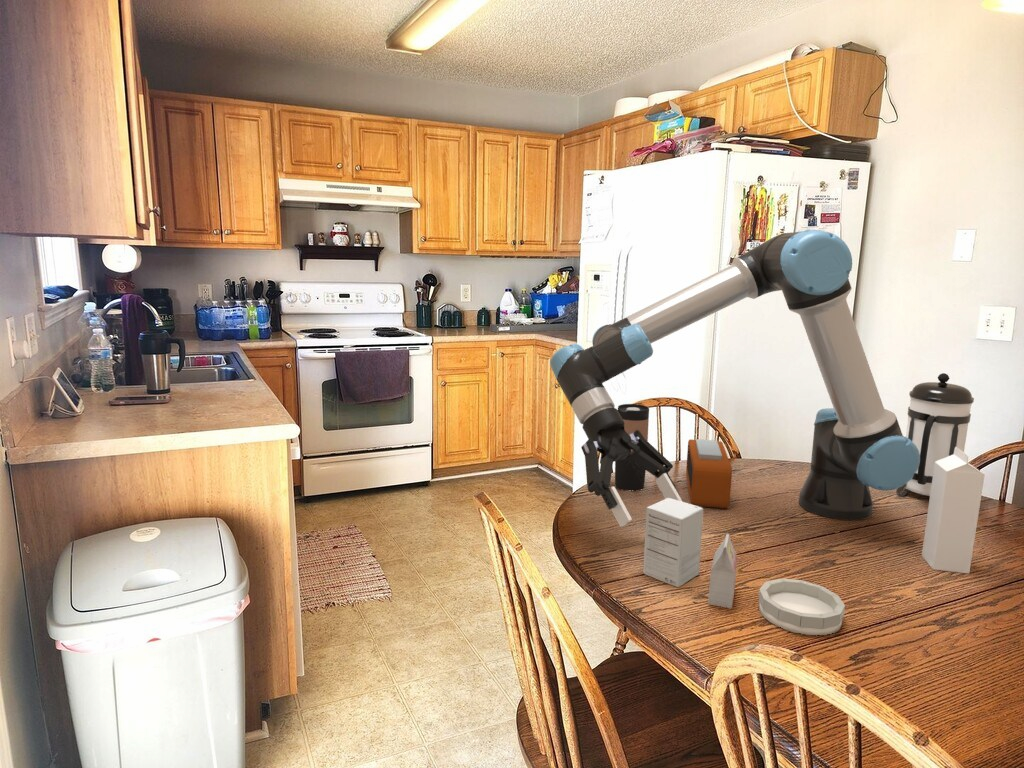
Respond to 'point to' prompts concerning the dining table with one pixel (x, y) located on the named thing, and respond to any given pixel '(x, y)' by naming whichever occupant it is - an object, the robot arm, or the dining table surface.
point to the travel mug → (625, 470)
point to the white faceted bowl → (801, 606)
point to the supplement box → (673, 541)
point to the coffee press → (936, 427)
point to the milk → (952, 514)
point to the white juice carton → (723, 575)
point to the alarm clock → (708, 473)
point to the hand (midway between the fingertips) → (653, 515)
